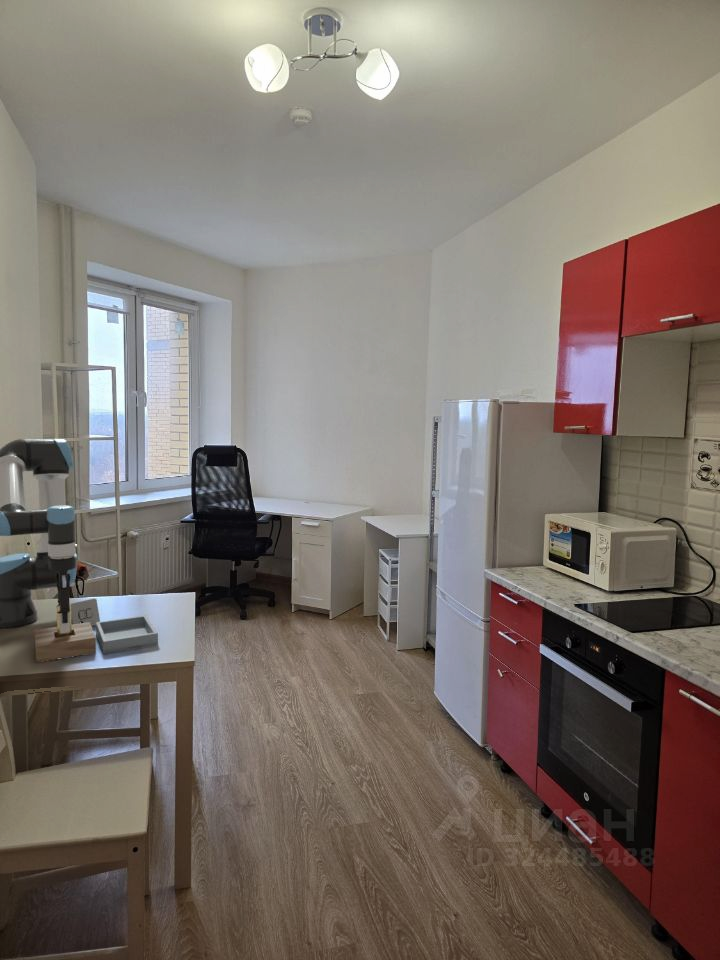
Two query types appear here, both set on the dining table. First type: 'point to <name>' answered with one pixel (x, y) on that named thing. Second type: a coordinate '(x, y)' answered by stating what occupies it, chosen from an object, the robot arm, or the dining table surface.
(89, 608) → the electrical switch
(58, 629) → the pin
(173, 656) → the dining table surface
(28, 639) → the dining table surface
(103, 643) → the tray
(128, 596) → the dining table surface
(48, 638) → the block
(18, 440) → the robot arm
